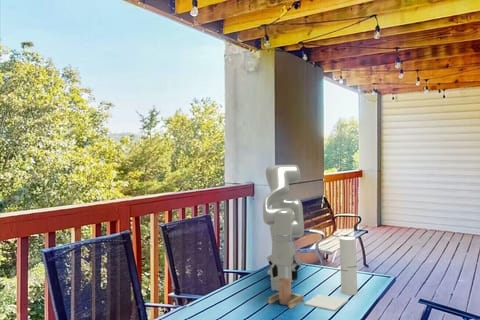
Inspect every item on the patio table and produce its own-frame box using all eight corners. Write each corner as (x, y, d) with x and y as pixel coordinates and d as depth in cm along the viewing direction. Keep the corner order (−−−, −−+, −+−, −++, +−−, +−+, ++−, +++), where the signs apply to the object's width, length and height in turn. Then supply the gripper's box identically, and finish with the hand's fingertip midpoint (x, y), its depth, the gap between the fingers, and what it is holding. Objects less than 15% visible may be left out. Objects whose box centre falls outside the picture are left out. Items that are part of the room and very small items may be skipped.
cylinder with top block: (275, 304, 170) (275, 280, 170) (283, 299, 175) (282, 277, 175) (286, 306, 167) (285, 282, 167) (293, 302, 172) (293, 279, 172)
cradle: (268, 303, 171) (267, 297, 171) (281, 296, 180) (281, 290, 180) (291, 308, 164) (290, 302, 164) (303, 301, 173) (303, 295, 173)
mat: (304, 304, 168) (304, 303, 168) (318, 295, 179) (318, 294, 179) (334, 311, 160) (334, 309, 160) (348, 301, 171) (348, 299, 171)
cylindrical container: (358, 295, 178) (356, 239, 178) (341, 294, 179) (339, 239, 179) (356, 290, 185) (354, 236, 185) (341, 289, 186) (339, 236, 186)
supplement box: (289, 286, 193) (288, 261, 193) (286, 291, 186) (285, 264, 186) (274, 285, 195) (273, 260, 196) (270, 290, 188) (270, 264, 189)
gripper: (262, 238, 174) (263, 277, 173) (296, 241, 163) (298, 283, 163) (271, 235, 180) (272, 273, 179) (305, 238, 169) (306, 279, 169)
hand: (284, 278), depth 171 cm, fingers open, 9 cm apart
